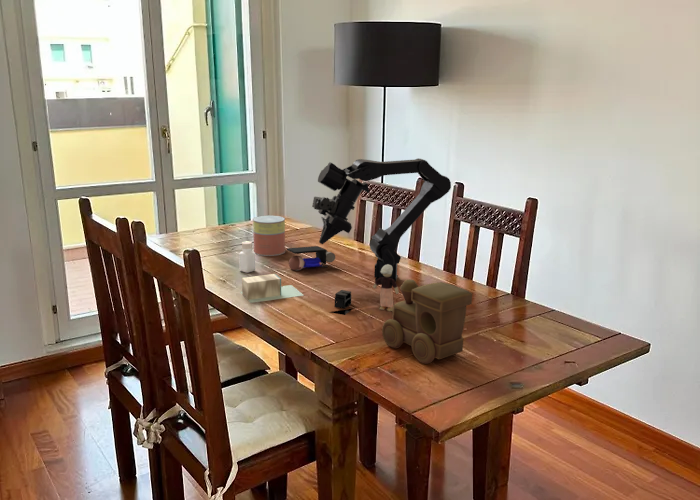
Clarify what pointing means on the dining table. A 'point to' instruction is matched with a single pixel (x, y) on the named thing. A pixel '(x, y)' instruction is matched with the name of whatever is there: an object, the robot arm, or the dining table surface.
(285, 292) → the mat
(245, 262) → the pepper shaker
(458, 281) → the dining table surface
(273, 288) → the maple block
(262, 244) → the canned food
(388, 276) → the grandmother figurine
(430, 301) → the wooden toy train
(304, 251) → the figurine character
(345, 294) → the black boxy device
